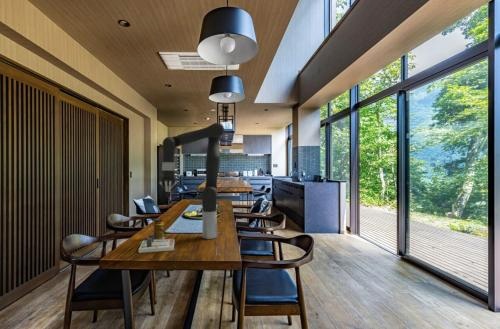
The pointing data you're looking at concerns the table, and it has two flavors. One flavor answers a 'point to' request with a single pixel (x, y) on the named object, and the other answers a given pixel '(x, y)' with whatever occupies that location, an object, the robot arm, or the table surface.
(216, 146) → the robot arm
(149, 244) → the block
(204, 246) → the table surface
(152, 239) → the block
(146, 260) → the table surface
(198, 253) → the table surface
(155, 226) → the condiment
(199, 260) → the table surface
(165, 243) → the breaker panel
